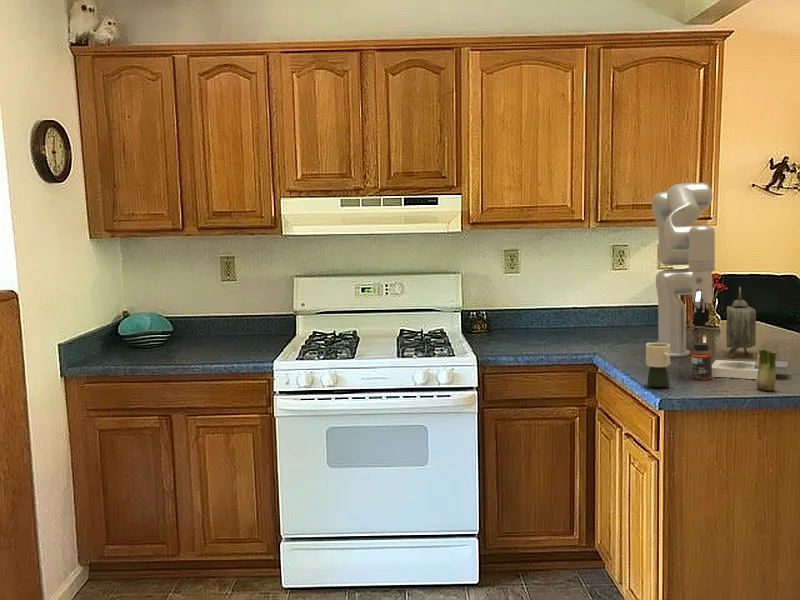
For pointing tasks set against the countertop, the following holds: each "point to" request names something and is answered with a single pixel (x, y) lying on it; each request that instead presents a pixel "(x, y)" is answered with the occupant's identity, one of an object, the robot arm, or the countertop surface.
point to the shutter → (777, 363)
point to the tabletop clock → (740, 326)
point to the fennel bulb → (766, 370)
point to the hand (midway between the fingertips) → (701, 323)
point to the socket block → (734, 369)
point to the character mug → (658, 364)
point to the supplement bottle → (701, 362)
